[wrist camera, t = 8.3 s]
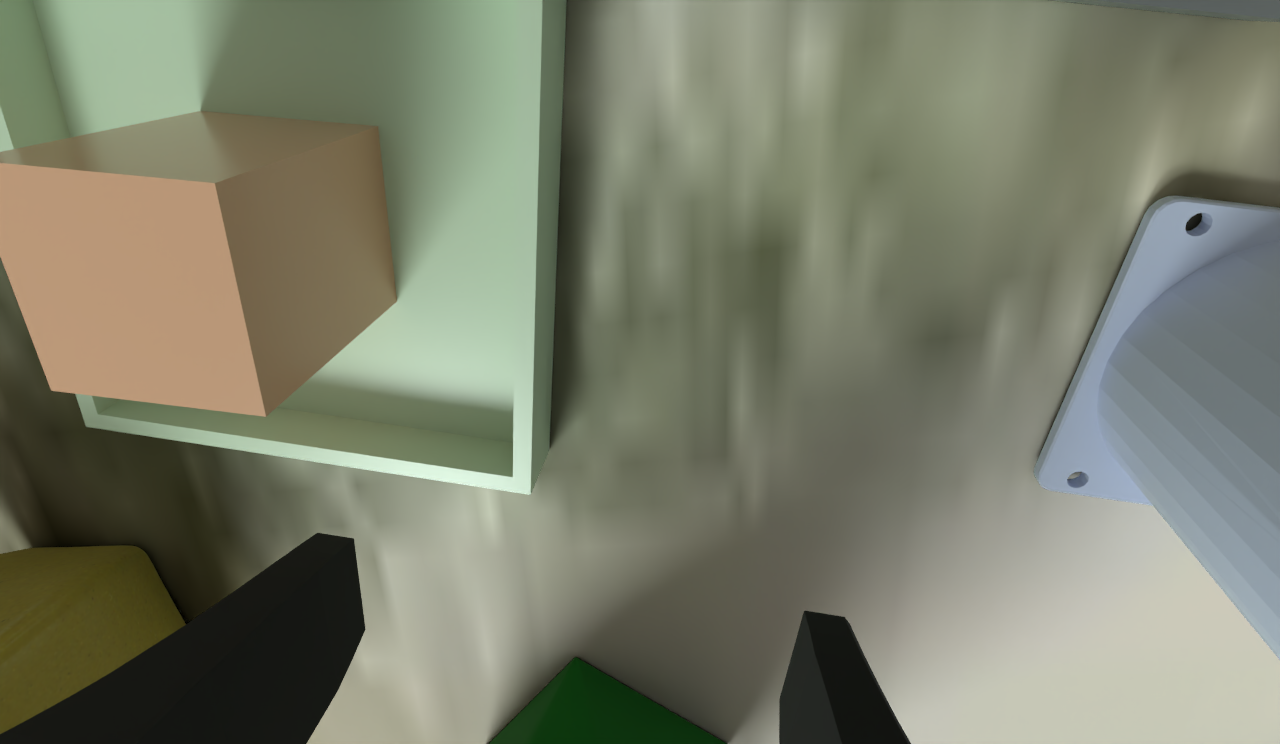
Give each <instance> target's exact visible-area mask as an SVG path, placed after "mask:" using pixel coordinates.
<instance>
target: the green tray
mask: <svg viewBox="0 0 1280 744" xmlns="http://www.w3.org/2000/svg"><path fill="white" fill-rule="evenodd" d="M566 4H567V0H0V152H2V151H7V150H12V149H17V148H22V147H27V146H32V145H37V144H41V143H46V142H51V141H56V140H61V139H66V138H71V137H76V136H80V135H85V134H90V133H95V132H100V131H105V130H110V129H114V128H119V127H124V126H129V125H134V124H139V123H144V122H149V121H153V120H158V119H163V118H168V117H173V116H178V115H183V114H188V113H192V112H197V111H208V112H219V113H231V114H243V115H254V116H266V117H278V118H289V119H301V120H313V121H324V122H336V123H348V124H359V125H371V126H378V130H379V139H380V148H381V158H382V167H383V176H384V185H385V195H386V204H387V213H388V222H389V232H390V241H391V250H392V259H393V268H394V278H395V287H396V296H397V302H396V303H395V304H394V305H392V306H391V307H390V308H389V309H388V310H387V311H386V312H384V313H383V314H382V315H381V316H380V317H379V318H378V319H376V320H375V321H374V322H373V323H372V324H371V325H370V326H369V327H367V328H366V329H365V330H364V331H363V332H362V333H361V334H359V335H358V336H357V337H356V338H355V339H354V340H353V341H351V342H350V343H349V344H348V345H347V346H346V347H345V348H344V349H342V350H341V351H340V352H339V353H338V354H337V355H336V356H334V357H333V358H332V359H331V360H330V361H329V362H328V363H327V364H325V365H324V366H323V367H322V368H321V369H320V370H319V371H317V372H316V373H315V374H314V375H313V376H312V377H311V378H309V379H308V380H307V381H306V382H305V383H304V384H303V385H302V386H300V387H299V388H298V389H297V390H296V391H295V392H294V393H292V394H291V395H290V396H289V397H288V398H287V399H286V400H285V401H283V402H282V403H281V404H280V405H279V406H278V407H277V408H275V409H274V410H273V411H272V412H271V413H270V414H269V415H267V416H266V417H264V416H255V415H247V414H239V413H231V412H222V411H214V410H206V409H198V408H190V407H181V406H173V405H165V404H157V403H148V402H140V401H132V400H124V399H115V398H107V397H99V396H91V395H82V394H75V395H76V398H77V401H78V404H79V407H80V410H81V413H82V416H83V419H84V422H85V425H86V427H91V428H97V429H104V430H110V431H117V432H123V433H130V434H137V435H143V436H150V437H156V438H163V439H169V440H176V441H182V442H189V443H195V444H202V445H208V446H215V447H222V448H228V449H235V450H241V451H248V452H254V453H261V454H267V455H274V456H280V457H287V458H293V459H300V460H306V461H313V462H320V463H326V464H333V465H339V466H346V467H352V468H359V469H365V470H372V471H378V472H385V473H391V474H398V475H404V476H411V477H418V478H424V479H431V480H437V481H444V482H450V483H457V484H463V485H470V486H476V487H483V488H489V489H496V490H502V491H509V492H516V493H522V494H529V495H531V493H532V490H533V488H534V485H535V483H536V481H537V478H538V476H539V474H540V471H541V469H542V466H543V464H544V462H545V459H546V457H547V455H548V452H549V446H550V420H551V394H552V368H553V342H554V316H555V290H556V264H557V238H558V212H559V186H560V160H561V134H562V108H563V82H564V56H565V30H566Z"/></svg>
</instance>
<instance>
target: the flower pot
mask: <svg viewBox="0 0 1280 744" xmlns="http://www.w3.org/2000/svg"><path fill="white" fill-rule="evenodd" d="M185 625H186V624H185V622H184V620H183V618H182V617H181V615H180V613H179V611H178V610H177V608H176V606H175V604H174V603H173V601H172V599H171V597H170V595H169V593H168V592H167V590H166V588H165V586H164V584H163V583H162V581H161V579H160V577H159V575H158V573H157V571H156V569H155V567H154V566H153V564H152V562H151V560H150V559H149V557H148V555H147V554H146V553H145V552H144V551H143V550H142V549H140V548H138V547H136V546H127V545H123V546H89V547H42V548H29V549H24V550H18V551H13V552H8V553H3V554H0V734H1V733H3V732H5V731H7V730H9V729H11V728H13V727H15V726H17V725H19V724H20V723H22V722H24V721H26V720H28V719H30V718H32V717H33V716H35V715H37V714H39V713H41V712H42V711H44V710H46V709H48V708H50V707H52V706H53V705H55V704H57V703H59V702H61V701H62V700H64V699H66V698H68V697H70V696H71V695H73V694H75V693H77V692H78V691H80V690H82V689H83V688H85V687H87V686H89V685H90V684H92V683H94V682H96V681H97V680H99V679H101V678H102V677H104V676H106V675H107V674H109V673H111V672H112V671H114V670H116V669H117V668H119V667H120V666H122V665H123V664H125V663H127V662H128V661H130V660H131V659H133V658H134V657H136V656H137V655H139V654H141V653H142V652H144V651H145V650H147V649H148V648H150V647H152V646H153V645H155V644H156V643H158V642H159V641H161V640H163V639H164V638H166V637H167V636H169V635H170V634H172V633H174V632H175V631H177V630H178V629H180V628H181V627H183V626H185Z"/></svg>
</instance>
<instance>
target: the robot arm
mask: <svg viewBox="0 0 1280 744" xmlns="http://www.w3.org/2000/svg"><path fill="white" fill-rule="evenodd" d="M1198 213H1202V220H1201V222H1200V224H1199V225H1198V226H1197V227H1196V228H1194V229H1192V230H1190V231H1186V230H1185V228H1186V223H1187V222H1188V220H1189V219H1190V218H1191V217H1192V216H1194V215H1196V214H1198ZM1075 472H1082V473H1081V474H1080V475H1079V476H1078V477H1076V478H1074V479H1067V478H1068V477H1069V476H1070V475H1071V474H1073V473H1075ZM1034 475H1035V478H1036V479H1037V481H1038V483H1039V484H1040V485H1041V486H1042V487H1043V488H1044V489H1047V490H1050V491H1056V492H1062V493H1069V494H1076V495H1083V496H1090V497H1097V498H1104V499H1111V500H1117V501H1124V502H1131V503H1138V504H1145V505H1152V506H1154V507H1155V508H1156V510H1157V511H1158V512H1159V513H1160V515H1161V516H1162V517H1163V518H1164V519H1165V521H1166V522H1167V523H1168V524H1169V526H1170V527H1171V528H1172V529H1173V530H1174V532H1175V533H1176V534H1177V535H1178V537H1179V538H1180V539H1181V540H1182V541H1183V543H1184V544H1185V545H1186V546H1187V548H1188V549H1189V550H1190V551H1191V552H1192V554H1193V555H1194V556H1195V557H1196V558H1197V560H1198V561H1199V562H1200V563H1201V565H1202V566H1203V567H1204V568H1205V569H1206V571H1207V572H1208V573H1209V574H1210V576H1211V577H1212V578H1213V579H1214V580H1215V582H1216V583H1217V584H1218V585H1219V587H1220V588H1221V589H1222V590H1223V591H1224V593H1225V594H1226V595H1227V596H1228V598H1229V599H1230V600H1231V601H1232V602H1233V604H1234V605H1235V606H1236V607H1237V608H1238V610H1239V611H1240V612H1241V613H1242V615H1243V616H1244V617H1245V618H1246V619H1247V621H1248V622H1249V623H1250V624H1251V626H1252V627H1253V628H1254V629H1255V630H1256V632H1257V633H1258V634H1259V635H1260V637H1261V638H1262V639H1263V640H1264V641H1265V643H1266V644H1267V645H1268V646H1269V648H1270V649H1271V650H1272V651H1273V652H1274V654H1275V655H1276V656H1277V657H1278V658H1279V660H1280V208H1278V207H1270V206H1261V205H1253V204H1244V203H1236V202H1227V201H1219V200H1210V199H1202V198H1193V197H1185V196H1167V197H1164V198H1162V199H1159V200H1157V201H1156V202H1155V203H1154V204H1152V205H1151V206H1150V207H1149V208H1148V210H1147V211H1146V213H1145V214H1144V216H1143V219H1142V221H1141V223H1140V226H1139V228H1138V230H1137V233H1136V235H1135V237H1134V239H1133V242H1132V244H1131V246H1130V249H1129V251H1128V253H1127V256H1126V258H1125V260H1124V262H1123V265H1122V267H1121V269H1120V272H1119V274H1118V276H1117V279H1116V281H1115V283H1114V285H1113V288H1112V290H1111V292H1110V295H1109V297H1108V299H1107V302H1106V304H1105V306H1104V309H1103V311H1102V313H1101V315H1100V318H1099V320H1098V322H1097V325H1096V327H1095V329H1094V332H1093V334H1092V336H1091V338H1090V341H1089V343H1088V345H1087V348H1086V350H1085V352H1084V355H1083V357H1082V359H1081V361H1080V364H1079V366H1078V368H1077V371H1076V373H1075V375H1074V378H1073V380H1072V382H1071V384H1070V387H1069V389H1068V391H1067V394H1066V396H1065V398H1064V401H1063V403H1062V405H1061V407H1060V410H1059V412H1058V414H1057V417H1056V419H1055V421H1054V424H1053V426H1052V428H1051V430H1050V433H1049V435H1048V437H1047V440H1046V442H1045V444H1044V447H1043V449H1042V451H1041V454H1040V456H1039V458H1038V460H1037V463H1036V465H1035V468H1034ZM364 631H365V623H364V615H363V607H362V599H361V592H360V584H359V576H358V568H357V560H356V552H355V545H354V539H353V538H346V537H340V536H334V535H328V534H321V533H317V534H315V535H314V536H312V537H311V538H309V539H308V540H306V541H305V542H303V543H302V544H301V545H299V546H298V547H296V548H295V549H293V550H292V551H291V552H289V553H288V554H286V555H285V556H284V557H282V558H281V559H279V560H278V561H276V562H275V563H274V564H272V565H271V566H269V567H268V568H267V569H265V570H264V571H262V572H261V573H260V574H258V575H257V576H255V577H254V578H252V579H251V580H250V581H248V582H247V583H245V584H244V585H243V586H241V587H240V588H238V589H237V590H235V591H234V592H233V593H231V594H230V595H228V596H227V597H225V598H224V599H222V600H221V601H220V602H218V603H217V604H215V605H214V606H212V607H211V608H209V609H208V610H206V611H205V612H204V613H202V614H201V615H199V616H198V617H196V618H195V619H193V620H192V621H190V622H189V623H187V624H186V625H185V626H183V627H181V628H180V629H178V630H177V631H175V632H174V633H172V634H170V635H169V636H167V637H166V638H164V639H163V640H161V641H159V642H158V643H156V644H155V645H153V646H152V647H150V648H148V649H147V650H145V651H144V652H142V653H141V654H139V655H137V656H136V657H134V658H133V659H131V660H130V661H128V662H127V663H125V664H123V665H122V666H120V667H119V668H117V669H116V670H114V671H112V672H111V673H109V674H107V675H106V676H104V677H102V678H101V679H99V680H97V681H96V682H94V683H92V684H90V685H89V686H87V687H85V688H83V689H82V690H80V691H78V692H77V693H75V694H73V695H71V696H70V697H68V698H66V699H64V700H62V701H61V702H59V703H57V704H55V705H53V706H52V707H50V708H48V709H46V710H44V711H42V712H41V713H39V714H37V715H35V716H33V717H32V718H30V719H28V720H26V721H24V722H22V723H20V724H19V725H17V726H15V727H13V728H11V729H9V730H7V731H5V732H3V733H1V734H0V744H306V743H307V742H308V740H309V738H310V737H311V735H312V733H313V732H314V730H315V728H316V726H317V725H318V723H319V721H320V720H321V718H322V716H323V715H324V713H325V711H326V710H327V708H328V706H329V705H330V703H331V701H332V699H333V698H334V696H335V694H336V693H337V691H338V689H339V687H340V685H341V682H342V680H343V678H344V676H345V674H346V672H347V670H348V667H349V665H350V663H351V661H352V659H353V656H354V654H355V652H356V650H357V647H358V645H359V643H360V640H361V638H362V636H363V633H364ZM779 743H780V744H911V743H910V741H909V740H908V738H907V736H906V734H905V733H904V731H903V729H902V727H901V725H900V724H899V722H898V720H897V718H896V716H895V714H894V713H893V711H892V709H891V707H890V705H889V703H888V701H887V699H886V698H885V696H884V694H883V692H882V690H881V688H880V686H879V684H878V682H877V680H876V678H875V676H874V674H873V672H872V670H871V668H870V666H869V664H868V662H867V660H866V658H865V656H864V654H863V652H862V649H861V647H860V645H859V643H858V641H857V639H856V637H855V634H854V632H853V630H852V628H851V626H850V624H849V622H848V621H847V620H846V619H845V617H841V616H834V615H828V614H822V613H816V612H809V611H804V614H803V617H802V621H801V624H800V628H799V632H798V635H797V639H796V642H795V646H794V650H793V653H792V657H791V660H790V664H789V667H788V671H787V675H786V678H785V682H784V685H783V689H782V692H781V696H780V727H779Z"/></svg>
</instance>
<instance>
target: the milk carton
mask: <svg viewBox="0 0 1280 744" xmlns="http://www.w3.org/2000/svg"><path fill="white" fill-rule="evenodd" d="M489 744H727V743H725V742H723V741H721V740H720V739H718V738H716V737H714V736H713V735H711V734H709V733H707V732H706V731H704V730H702V729H701V728H699V727H697V726H695V725H694V724H692V723H690V722H688V721H687V720H685V719H683V718H681V717H680V716H678V715H676V714H674V713H673V712H671V711H669V710H667V709H666V708H664V707H662V706H660V705H659V704H657V703H655V702H653V701H652V700H650V699H648V698H646V697H645V696H643V695H641V694H640V693H638V692H636V691H634V690H633V689H631V688H629V687H627V686H626V685H624V684H622V683H620V682H619V681H617V680H615V679H613V678H612V677H610V676H608V675H606V674H605V673H603V672H601V671H599V670H598V669H596V668H594V667H592V666H591V665H589V664H587V663H585V662H584V661H582V660H580V659H579V658H577V657H575V658H574V659H573V660H572V661H571V662H570V663H569V664H568V665H567V666H566V667H565V668H564V669H563V670H562V671H561V672H560V673H559V674H558V675H557V676H556V677H555V678H554V679H553V680H552V681H551V682H550V683H549V684H548V685H547V686H546V687H545V688H544V689H543V690H542V691H541V692H540V693H539V694H538V695H537V696H536V697H535V698H534V699H533V700H532V701H531V702H530V703H529V704H528V705H527V706H526V707H525V708H524V709H523V710H522V711H521V712H520V713H519V714H518V715H517V716H516V717H515V718H514V719H513V720H512V721H511V722H510V723H509V724H508V725H507V726H506V727H505V728H504V729H503V730H502V731H501V732H500V733H499V734H498V735H497V736H496V737H495V738H494V739H493V740H492V741H491V742H490V743H489Z"/></svg>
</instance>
